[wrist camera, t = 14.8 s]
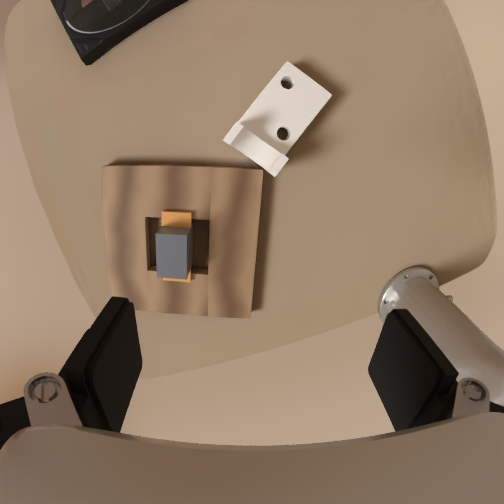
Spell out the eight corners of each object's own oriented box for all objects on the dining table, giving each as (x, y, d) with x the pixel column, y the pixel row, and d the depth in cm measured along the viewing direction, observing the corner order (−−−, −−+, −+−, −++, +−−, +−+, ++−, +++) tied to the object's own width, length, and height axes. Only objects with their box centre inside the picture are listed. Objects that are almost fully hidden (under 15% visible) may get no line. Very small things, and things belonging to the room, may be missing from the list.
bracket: (268, 170, 40) (275, 177, 33) (226, 140, 38) (222, 140, 31) (324, 98, 36) (342, 90, 29) (283, 67, 35) (292, 52, 28)
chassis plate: (262, 169, 40) (263, 170, 38) (250, 311, 47) (250, 318, 45) (107, 165, 38) (101, 166, 36) (117, 301, 46) (113, 307, 44)
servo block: (194, 208, 41) (187, 219, 36) (193, 273, 45) (186, 293, 39) (166, 207, 41) (155, 217, 35) (167, 272, 44) (157, 290, 39)
